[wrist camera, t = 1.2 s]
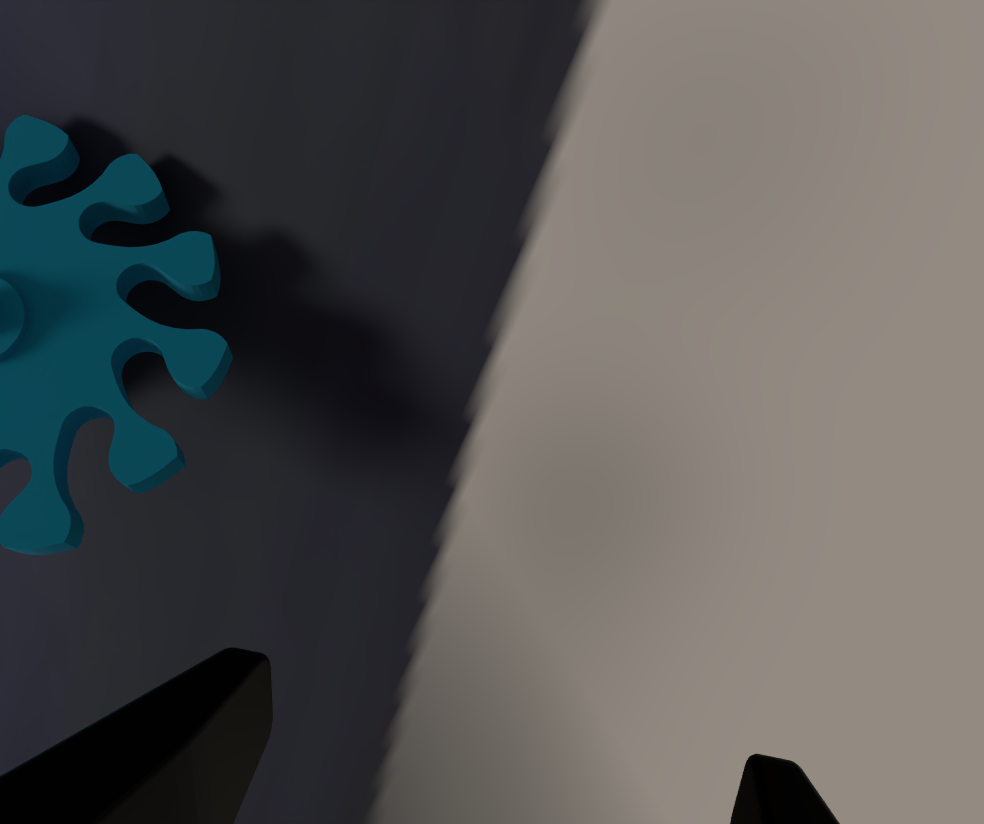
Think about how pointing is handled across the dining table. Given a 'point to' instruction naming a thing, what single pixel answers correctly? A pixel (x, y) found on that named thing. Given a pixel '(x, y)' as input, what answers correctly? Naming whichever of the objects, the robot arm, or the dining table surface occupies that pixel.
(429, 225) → the dining table surface
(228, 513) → the dining table surface
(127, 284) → the gear
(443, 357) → the dining table surface
